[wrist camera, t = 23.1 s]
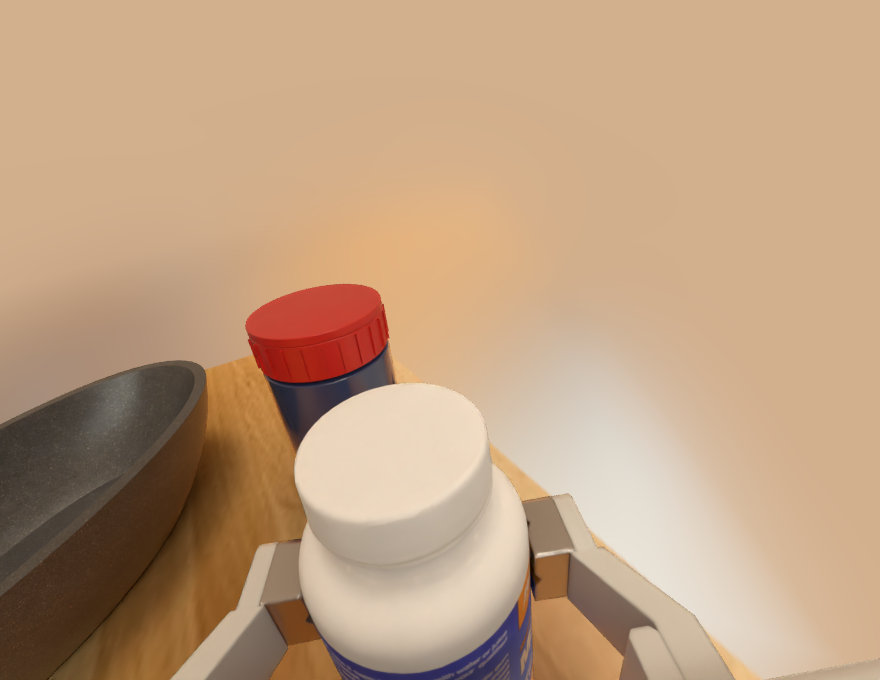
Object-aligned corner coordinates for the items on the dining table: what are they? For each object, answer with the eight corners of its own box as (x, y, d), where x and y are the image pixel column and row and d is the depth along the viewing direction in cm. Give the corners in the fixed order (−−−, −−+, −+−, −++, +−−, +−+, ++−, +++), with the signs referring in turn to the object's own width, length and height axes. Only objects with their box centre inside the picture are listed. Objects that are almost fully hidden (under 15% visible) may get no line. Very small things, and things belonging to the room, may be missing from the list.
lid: (242, 395, 16) (224, 350, 15) (274, 330, 21) (262, 294, 20) (392, 368, 17) (384, 324, 16) (386, 312, 22) (380, 276, 21)
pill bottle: (569, 739, 11) (593, 493, 6) (376, 839, 10) (233, 626, 5) (489, 561, 15) (469, 346, 11) (352, 614, 14) (267, 398, 10)
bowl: (289, 436, 27) (260, 360, 24) (-228, 1144, 8) (-628, 1183, 6) (146, 429, 30) (104, 360, 27) (-499, 963, 11) (-871, 924, 8)
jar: (305, 537, 20) (231, 360, 15) (318, 455, 26) (266, 303, 21) (419, 513, 21) (384, 334, 16) (409, 437, 26) (380, 285, 21)
